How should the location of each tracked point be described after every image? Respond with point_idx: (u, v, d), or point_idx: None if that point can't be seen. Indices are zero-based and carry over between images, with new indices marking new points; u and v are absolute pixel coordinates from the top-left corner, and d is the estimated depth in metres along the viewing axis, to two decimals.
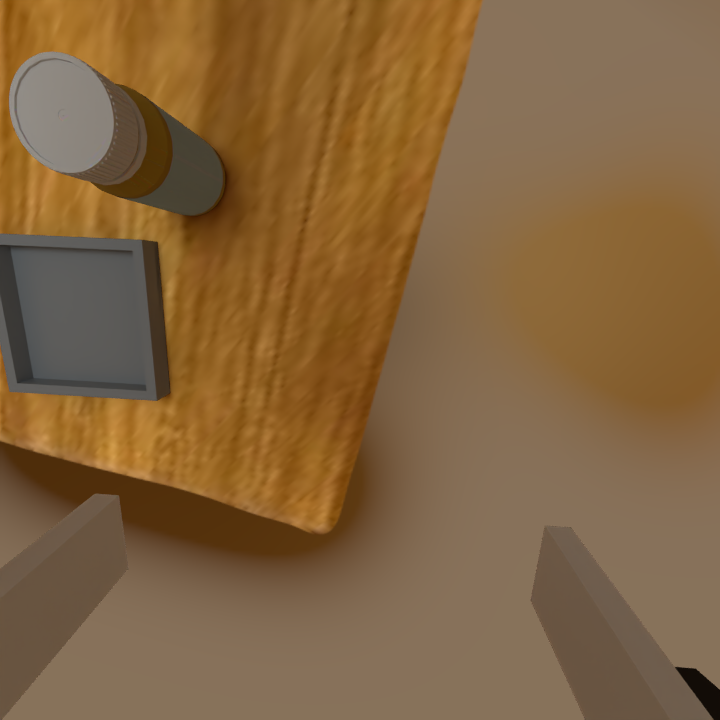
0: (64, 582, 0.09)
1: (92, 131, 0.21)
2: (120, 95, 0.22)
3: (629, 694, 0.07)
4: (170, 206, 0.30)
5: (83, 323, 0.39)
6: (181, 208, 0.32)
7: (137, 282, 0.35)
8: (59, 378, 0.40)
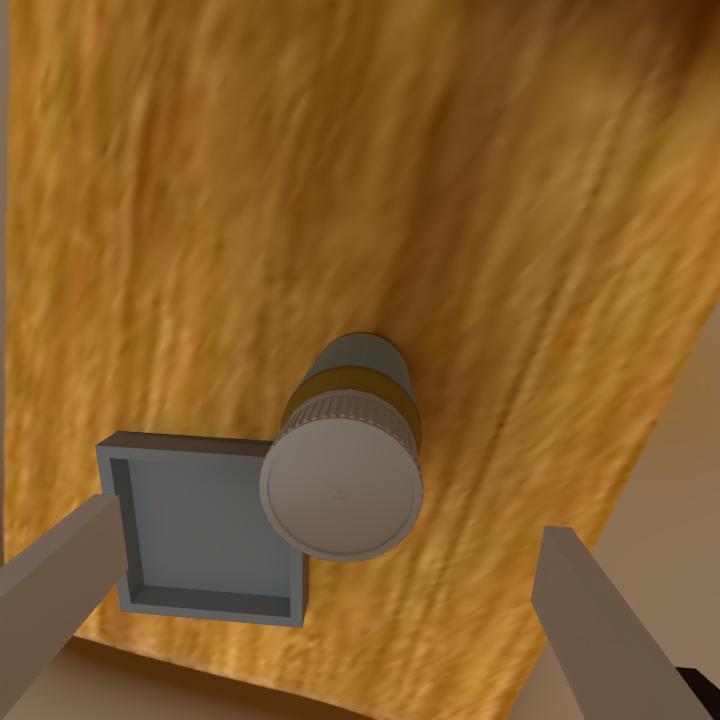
0: (64, 582, 0.09)
1: (382, 513, 0.14)
2: (411, 442, 0.14)
3: (629, 694, 0.07)
4: None
5: (210, 531, 0.32)
6: None
7: None
8: (176, 586, 0.33)
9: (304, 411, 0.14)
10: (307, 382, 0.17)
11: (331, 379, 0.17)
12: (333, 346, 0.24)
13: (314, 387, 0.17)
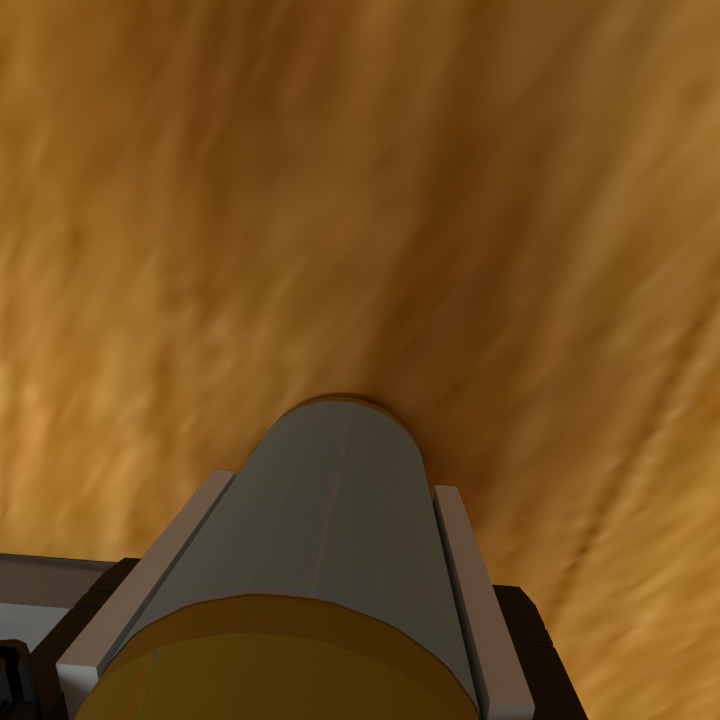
0: None
1: None
2: None
3: (456, 602, 0.09)
4: None
5: None
6: None
7: None
8: None
9: None
10: (129, 662, 0.05)
11: (189, 695, 0.05)
12: (277, 439, 0.12)
13: None
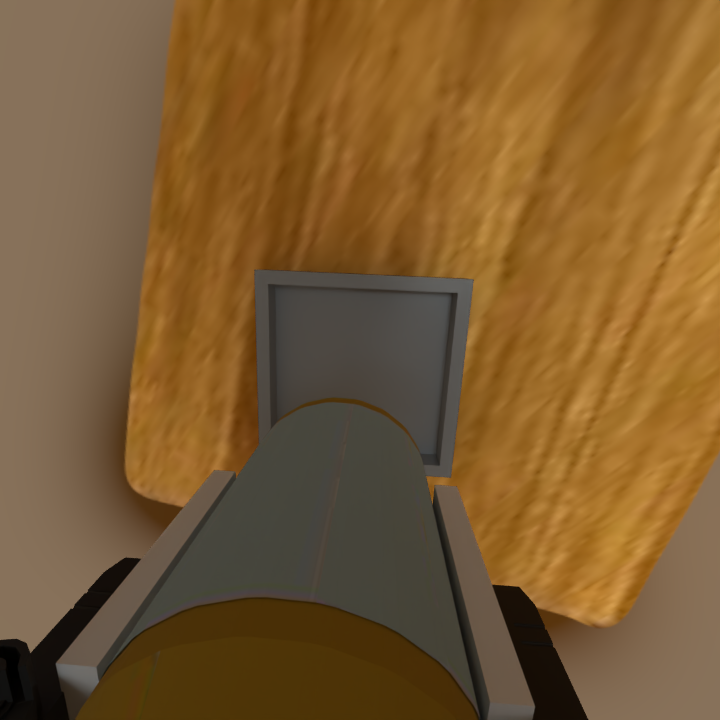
0: None
1: None
2: None
3: (456, 602, 0.09)
4: None
5: (354, 379, 0.31)
6: None
7: (456, 333, 0.27)
8: None
9: None
10: (129, 666, 0.05)
11: (188, 700, 0.05)
12: (277, 441, 0.12)
13: None
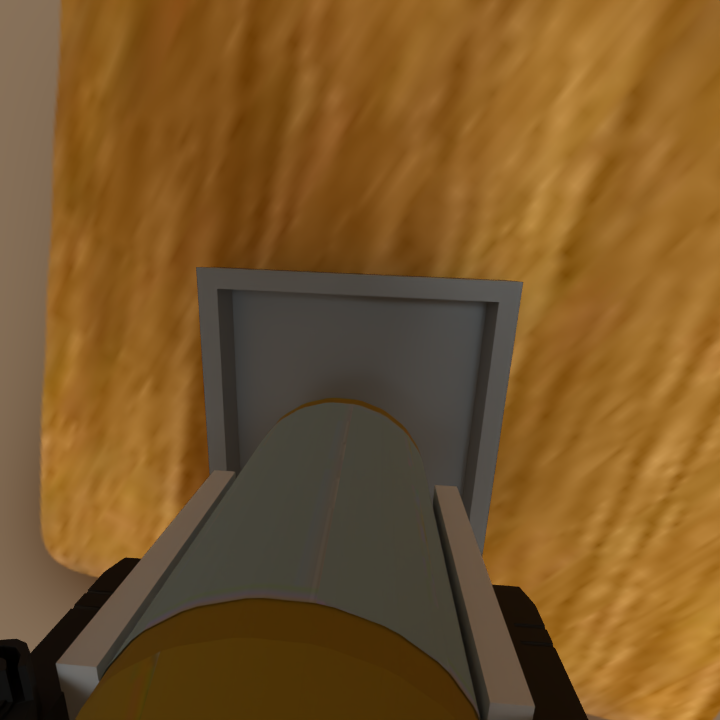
0: None
1: None
2: None
3: (456, 602, 0.09)
4: None
5: None
6: None
7: (495, 360, 0.19)
8: None
9: None
10: (128, 667, 0.05)
11: (188, 701, 0.05)
12: (277, 441, 0.12)
13: None
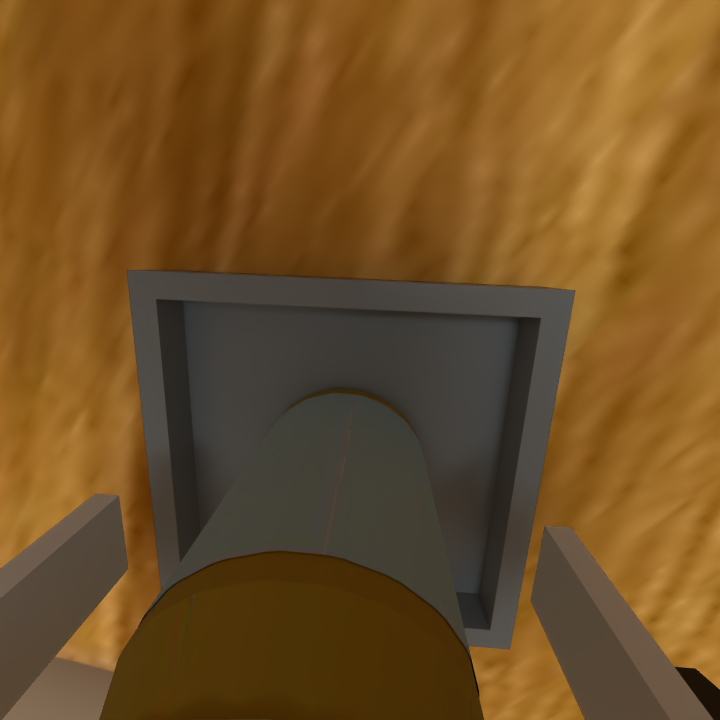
0: (64, 582, 0.09)
1: None
2: None
3: (629, 694, 0.07)
4: None
5: None
6: None
7: (533, 396, 0.14)
8: None
9: None
10: (167, 608, 0.06)
11: (222, 629, 0.05)
12: (286, 428, 0.12)
13: (170, 654, 0.05)
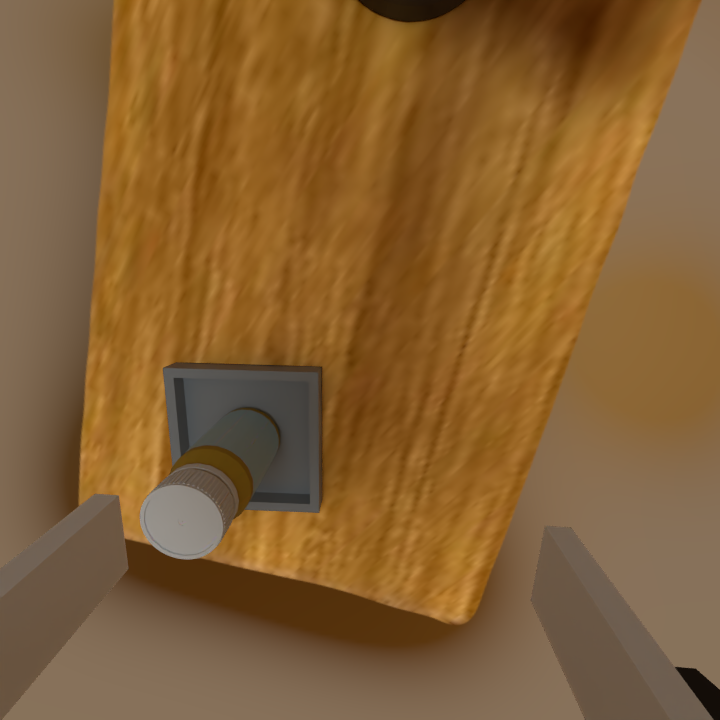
0: (64, 582, 0.09)
1: (205, 532, 0.27)
2: (224, 493, 0.27)
3: (629, 694, 0.07)
4: None
5: None
6: None
7: (310, 409, 0.38)
8: None
9: (166, 479, 0.27)
10: (181, 456, 0.30)
11: (192, 455, 0.30)
12: (219, 422, 0.37)
13: (182, 460, 0.30)
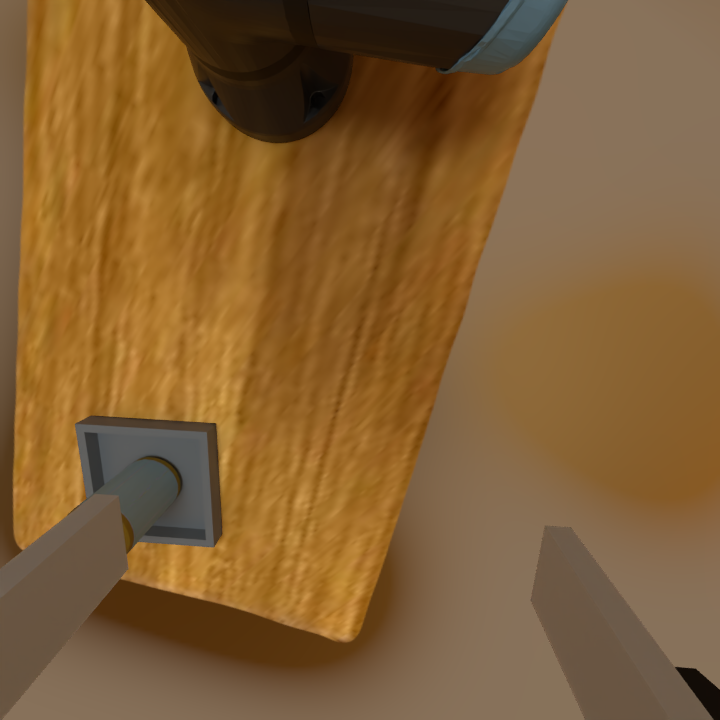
0: (64, 582, 0.09)
1: None
2: None
3: (629, 694, 0.07)
4: None
5: None
6: None
7: (202, 462, 0.44)
8: None
9: None
10: (71, 511, 0.37)
11: None
12: (120, 473, 0.43)
13: None
